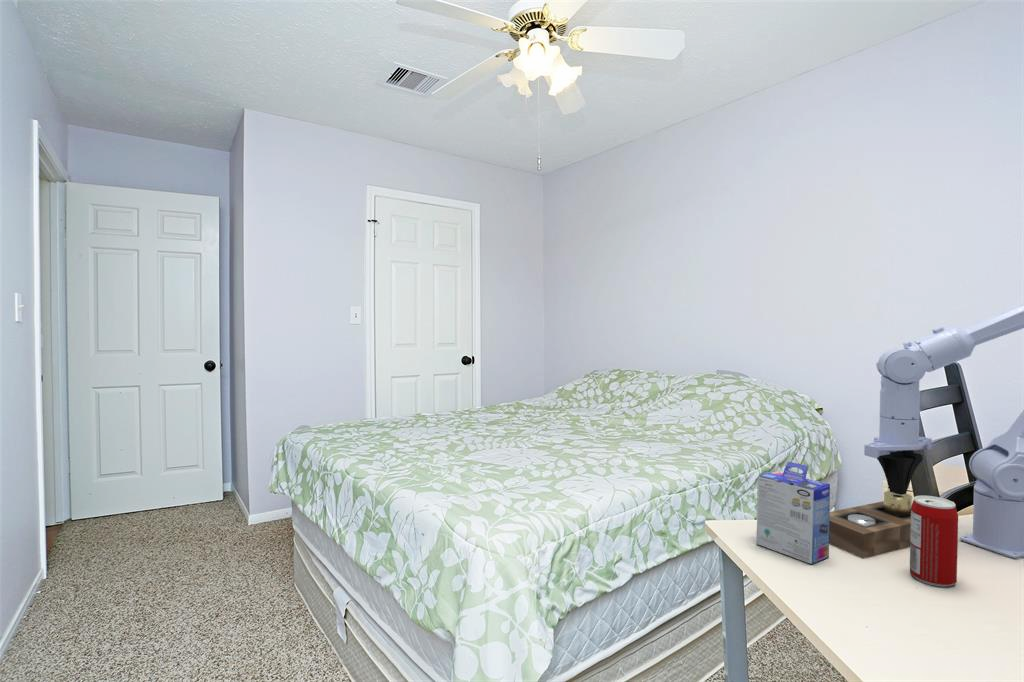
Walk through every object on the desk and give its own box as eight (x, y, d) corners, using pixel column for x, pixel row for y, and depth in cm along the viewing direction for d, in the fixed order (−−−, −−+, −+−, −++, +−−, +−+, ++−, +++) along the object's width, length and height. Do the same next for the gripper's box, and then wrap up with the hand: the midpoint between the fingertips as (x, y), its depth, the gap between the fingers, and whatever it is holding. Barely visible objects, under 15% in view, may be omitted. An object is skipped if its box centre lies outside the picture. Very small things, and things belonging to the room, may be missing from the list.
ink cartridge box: (831, 557, 88) (832, 469, 88) (813, 566, 85) (814, 475, 84) (773, 536, 96) (773, 456, 96) (755, 544, 93) (755, 461, 93)
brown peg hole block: (892, 519, 103) (893, 499, 103) (945, 538, 95) (945, 515, 94) (814, 537, 96) (814, 514, 96) (863, 558, 88) (863, 534, 87)
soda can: (966, 586, 78) (968, 504, 78) (933, 589, 78) (935, 507, 77) (931, 568, 84) (933, 491, 83) (900, 571, 83) (901, 494, 82)
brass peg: (893, 509, 99) (894, 490, 99) (916, 517, 95) (917, 496, 95) (878, 513, 98) (878, 492, 98) (901, 521, 94) (901, 500, 94)
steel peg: (858, 533, 96) (858, 513, 96) (880, 542, 92) (881, 521, 92) (842, 537, 95) (842, 516, 95) (864, 546, 91) (864, 524, 91)
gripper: (904, 409, 102) (902, 481, 103) (848, 416, 97) (847, 491, 98) (945, 416, 95) (943, 492, 96) (888, 423, 90) (886, 504, 91)
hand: (897, 492), depth 96 cm, fingers closed
